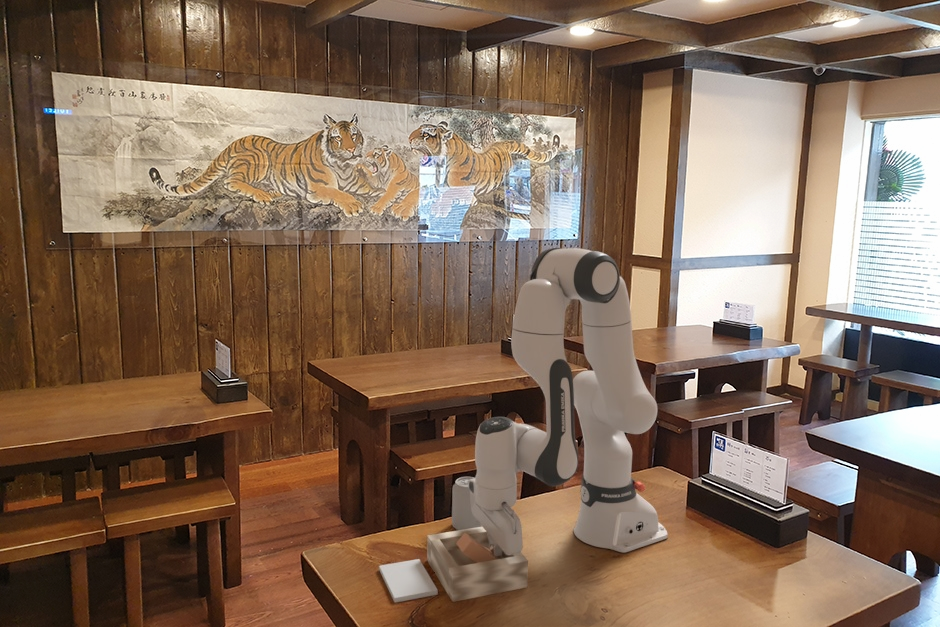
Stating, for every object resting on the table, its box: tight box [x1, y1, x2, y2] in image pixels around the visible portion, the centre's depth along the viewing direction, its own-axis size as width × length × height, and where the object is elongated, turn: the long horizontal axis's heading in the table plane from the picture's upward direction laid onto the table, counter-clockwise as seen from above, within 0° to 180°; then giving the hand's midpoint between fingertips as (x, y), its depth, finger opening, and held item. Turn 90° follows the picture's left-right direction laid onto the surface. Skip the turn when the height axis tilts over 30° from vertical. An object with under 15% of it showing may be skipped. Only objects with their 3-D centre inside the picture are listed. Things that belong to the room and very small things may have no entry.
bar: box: [456, 533, 499, 563], centre depth 153 cm, size 10×4×3 cm
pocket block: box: [426, 526, 529, 603], centre depth 153 cm, size 16×17×6 cm
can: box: [451, 476, 482, 531], centre depth 173 cm, size 8×8×12 cm
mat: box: [378, 558, 439, 603], centre depth 149 cm, size 9×13×1 cm
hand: (495, 553), depth 154 cm, fingers closed, pressing on bar
